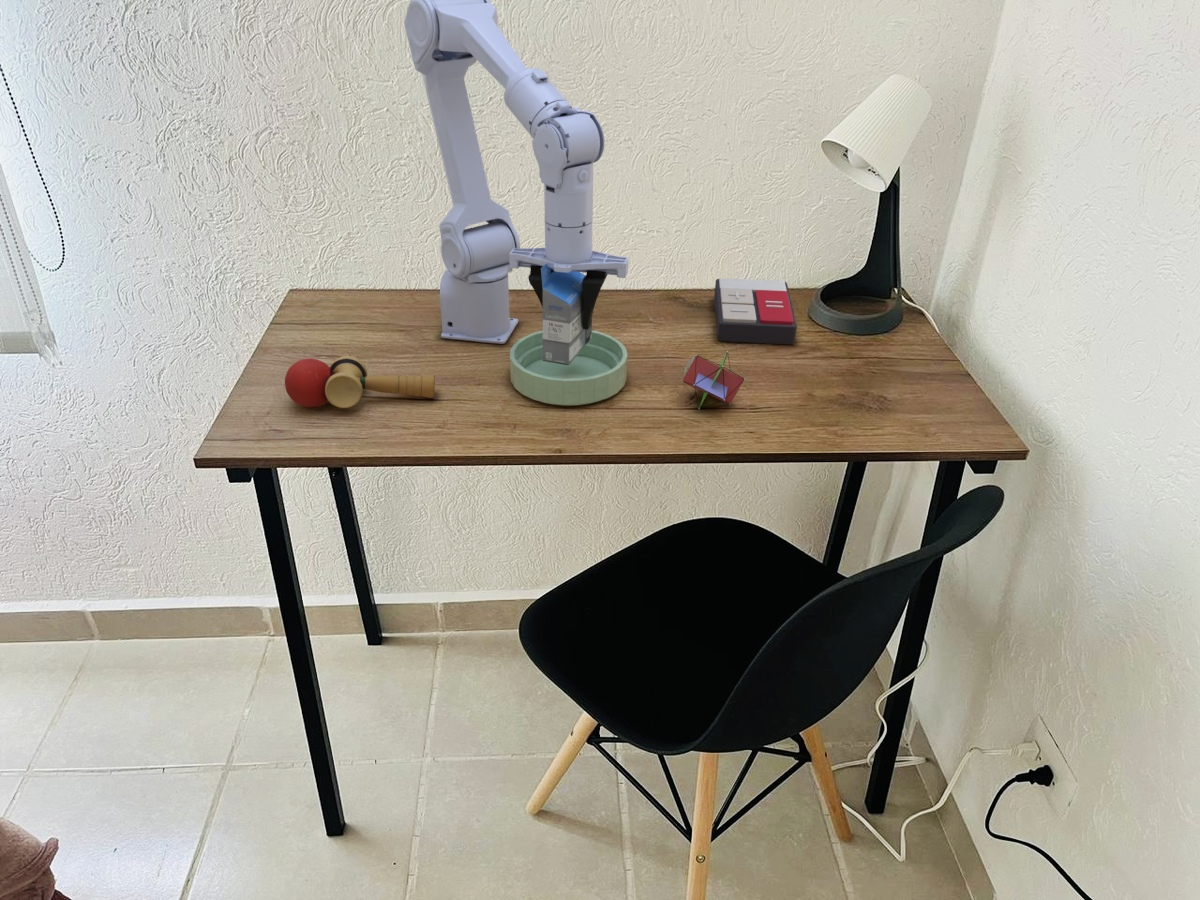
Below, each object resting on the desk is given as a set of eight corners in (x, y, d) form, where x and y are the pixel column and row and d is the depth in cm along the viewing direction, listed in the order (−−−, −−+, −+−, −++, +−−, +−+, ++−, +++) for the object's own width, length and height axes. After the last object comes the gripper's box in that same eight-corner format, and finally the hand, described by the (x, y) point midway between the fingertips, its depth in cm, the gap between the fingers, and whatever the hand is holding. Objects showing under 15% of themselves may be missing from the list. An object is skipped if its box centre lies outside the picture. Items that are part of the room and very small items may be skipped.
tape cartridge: (570, 367, 114) (570, 273, 107) (540, 361, 115) (539, 268, 108) (592, 338, 121) (594, 248, 115) (565, 333, 122) (565, 244, 116)
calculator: (720, 318, 129) (716, 273, 141) (717, 345, 132) (713, 299, 144) (798, 322, 129) (787, 276, 141) (793, 348, 131) (783, 302, 143)
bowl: (497, 401, 115) (495, 373, 113) (527, 349, 128) (526, 323, 126) (615, 414, 113) (616, 386, 111) (634, 360, 126) (635, 333, 124)
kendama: (432, 388, 121) (289, 380, 117) (435, 349, 117) (287, 339, 112) (433, 426, 115) (282, 419, 111) (436, 387, 111) (280, 379, 107)
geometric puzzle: (757, 380, 117) (724, 330, 114) (751, 406, 111) (716, 353, 109) (710, 404, 120) (677, 355, 118) (702, 429, 115) (667, 379, 112)
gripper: (500, 226, 107) (505, 332, 114) (622, 236, 105) (619, 343, 112) (516, 207, 113) (519, 309, 120) (632, 216, 111) (628, 319, 118)
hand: (568, 324), depth 116 cm, fingers closed on tape cartridge, 4 cm apart
